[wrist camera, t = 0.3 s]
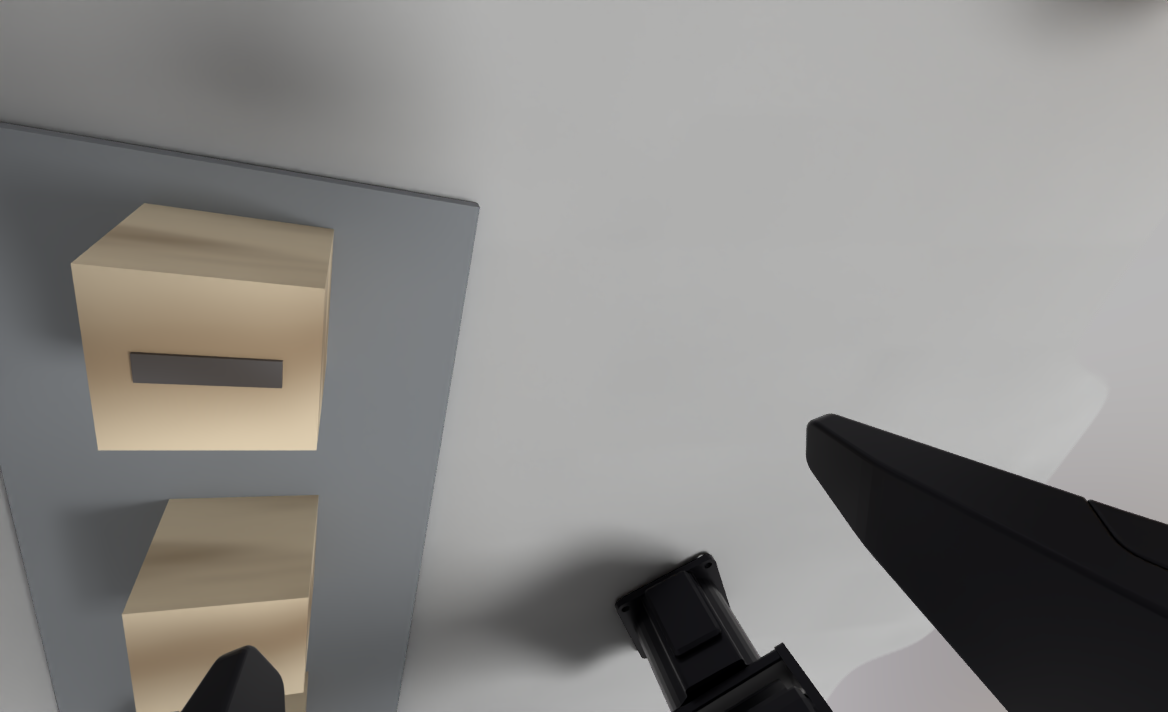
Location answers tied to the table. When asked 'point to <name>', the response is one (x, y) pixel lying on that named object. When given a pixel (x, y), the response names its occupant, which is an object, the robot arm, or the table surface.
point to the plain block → (221, 593)
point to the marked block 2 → (297, 699)
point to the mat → (151, 477)
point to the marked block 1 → (205, 331)
